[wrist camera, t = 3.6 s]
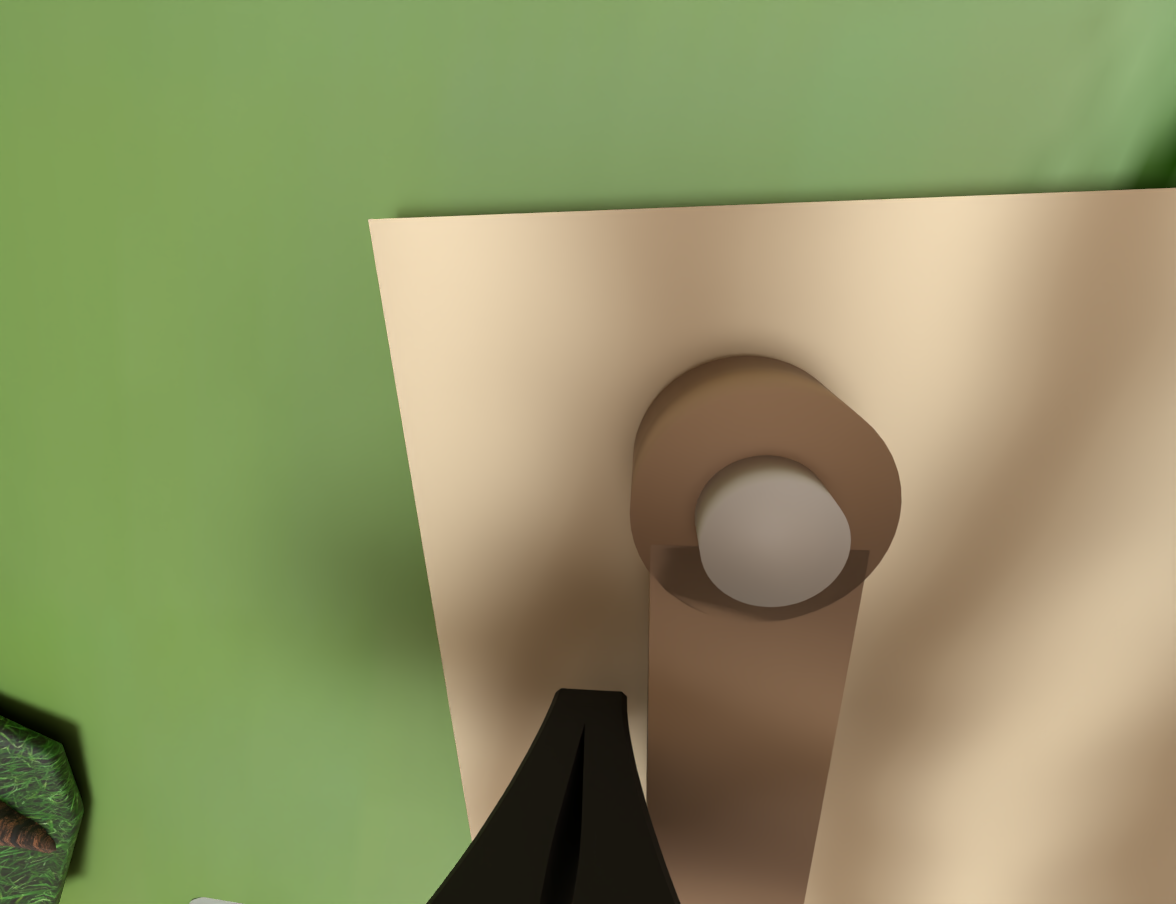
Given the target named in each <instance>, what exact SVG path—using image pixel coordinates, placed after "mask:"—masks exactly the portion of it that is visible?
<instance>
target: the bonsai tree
mask: <svg viewBox="0 0 1176 904" xmlns="http://www.w3.org/2000/svg"><path fill="white" fill-rule="evenodd" d="M83 812H84V808H83V802H82V798H81V796H80V793H79V790H78V787H77V784H76V782H75V779H74V776H73V773H72V770H71V768H70V765H69V762H68V759H67V756H66V754H65V751H64V748H63V745H62V744H61V743H59V742H57V741H54V740H52V739H50V738H48V737H46V736H44V735H41V734H39V733H37V732H35V731H33V730H31V729H28V728H26V727H24V726H22V725H20V724H18V723H15V722H13V721H11V720H9V719H7V718H5V717H2V716H0V904H59V902H60V898H61V894H62V890H63V887H64V883H65V879H66V876H67V872H68V868H69V864H70V861H71V857H72V853H73V849H74V846H75V842H76V838H77V835H78V831H79V827H80V823H81V820H82V816H83Z"/></svg>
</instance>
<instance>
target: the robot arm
mask: <svg viewBox="0 0 1176 904" xmlns="http://www.w3.org/2000/svg"><path fill="white" fill-rule="evenodd" d="M426 904H681V903H680V901H679V898H678V895H677V893H676V890H675V888H674V885H673V882H672V880H671V877H670V874H669V871H668V869H667V866H666V863H665V860H664V857H663V854H662V851H661V848H660V845H659V842H658V839H657V836H656V833H655V830H654V827H653V824H652V821H651V817H650V814H649V811H648V808H647V804H646V800H645V797H644V793H643V789H642V786H641V782H640V778H639V774H638V770H637V766H636V762H635V758H634V753H633V748H632V742H631V737H630V731H629V724H628V714H627V696H626V695H625V694H624V693H623V692H622V691H604V690H585V689H567V688H560V689H559V690H558V691H557V692H555V695H554V698H553V700H552V703H551V705H550V707H549V709H548V712H547V714H546V716H545V718H544V720H543V723H542V725H541V727H540V729H539V731H538V733H537V735H536V736H535V738H534V740H533V742H532V744H531V746H530V748H529V750H528V752H527V753H526V755H525V757H524V759H523V761H522V762H521V764H520V766H519V768H518V769H517V771H516V773H515V775H514V776H513V778H512V780H511V782H510V783H509V785H508V787H507V788H506V790H505V792H504V793H503V795H502V797H501V798H500V800H499V801H498V803H497V804H496V806H495V807H494V809H493V811H492V812H491V814H490V815H489V817H488V818H487V820H486V821H485V823H484V825H483V826H482V828H481V829H480V831H479V832H478V834H477V835H476V837H475V838H474V840H473V841H472V843H471V844H470V845H469V847H468V848H467V850H466V851H465V853H464V854H463V855H462V857H461V858H460V860H459V861H458V862H457V864H456V865H455V867H454V868H453V869H452V871H451V872H450V873H449V875H448V876H447V877H446V879H445V880H444V881H443V883H442V884H441V885H440V887H439V888H438V889H437V891H436V892H435V893H434V895H433V896H432V897H431V898H430V900H429V901H428V902H427V903H426Z"/></svg>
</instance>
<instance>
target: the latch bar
mask: <svg viewBox="0 0 1176 904" xmlns="http://www.w3.org/2000/svg"><path fill="white" fill-rule="evenodd" d="M901 504H902V498H901V484H900V478H899V473H898V470H897V467H896V464H895V462H894V459H893V456H892V454H891V453H890V451H889V449H888V447H887V446H886V444H885V442H884V441H883V439H882V438H881V437H880V436H879V434H878V433H877V432H876V431H875V429H874V428H873V427H872V426H870V425H869V424H868V423H867V422H866V421H865V420H864V419H863V418H862V417H861V416H859V415H858V414H857V413H856V412H855V411H854V410H852V409H851V408H850V407H849V406H848V405H846V404H845V403H844V402H843V401H842V400H840V399H839V398H838V397H837V396H836V395H835V394H833V393H832V392H831V391H830V390H829V389H827V388H826V387H825V386H824V385H823V384H822V383H820V382H819V381H818V380H817V379H816V378H814V377H813V376H811V375H810V374H808V373H807V372H805V371H804V370H802V369H800V368H798V367H796V366H794V365H792V364H790V363H787V362H784V361H781V360H778V359H773V358H768V357H762V356H733V357H727V358H722V359H717V360H714V361H711V362H708V363H705V364H702V365H700V366H698V367H696V368H693V369H691V370H689V371H688V372H686V373H684V374H683V375H681V376H680V377H678V378H677V379H675V380H674V381H673V382H672V383H670V384H669V385H668V386H667V387H666V388H665V389H664V390H663V391H662V392H661V393H660V394H659V395H658V396H657V397H656V398H655V400H654V401H653V402H652V404H651V405H650V407H649V408H648V409H647V411H646V413H645V415H644V417H643V419H642V421H641V423H640V426H639V429H638V431H637V434H636V439H635V443H634V451H633V467H632V483H631V500H630V524H631V531H632V536H633V540H634V543H635V546H636V549H637V551H638V554H639V556H640V558H641V560H642V561H643V563H644V565H645V567H646V568H647V570H648V571H649V603H648V686H647V770H646V804H647V808H648V811H649V814H650V817H651V821H652V824H653V827H654V830H655V833H656V836H657V839H658V842H659V845H660V848H661V851H662V854H663V857H664V860H665V863H666V866H667V869H668V871H669V874H670V877H671V880H672V882H673V885H674V888H675V890H676V893H677V895H678V898H679V901H680V903H681V904H804V901H805V895H806V890H807V885H808V879H809V874H810V869H811V863H812V858H813V853H814V847H815V842H816V837H817V831H818V826H819V821H820V815H821V810H822V805H823V799H824V794H825V789H826V783H827V778H828V773H829V767H830V762H831V756H832V751H833V746H834V740H835V735H836V730H837V724H838V719H839V714H840V708H841V703H842V698H843V692H844V687H845V682H846V676H847V671H848V666H849V660H850V655H851V650H852V644H853V639H854V634H855V628H856V623H857V618H858V612H859V607H860V602H861V596H862V591H863V585H864V580H865V579H866V578H867V577H868V576H869V575H870V574H871V573H872V572H873V571H874V569H875V568H876V567H877V566H878V564H879V563H880V562H881V560H882V559H883V557H884V556H885V554H886V552H887V551H888V549H889V547H890V545H891V543H892V540H893V538H894V536H895V533H896V530H897V526H898V523H899V519H900V512H901Z"/></svg>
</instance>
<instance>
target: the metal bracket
mask: <svg viewBox="0 0 1176 904" xmlns="http://www.w3.org/2000/svg"><path fill="white" fill-rule="evenodd" d="M189 904H241V903H235V902H229V901H223V900H217V899H211V898H205V897H200V898H195V899H193V900H192V901H191V902H190V903H189Z"/></svg>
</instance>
